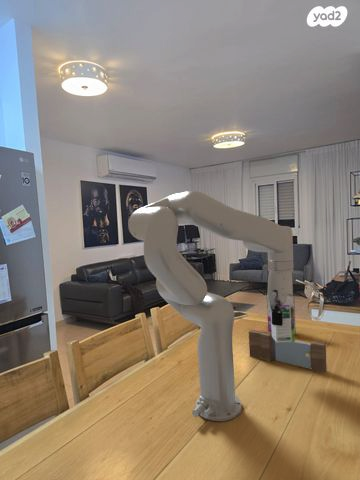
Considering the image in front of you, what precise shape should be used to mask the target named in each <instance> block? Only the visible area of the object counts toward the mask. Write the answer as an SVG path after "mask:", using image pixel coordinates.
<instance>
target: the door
mask: <svg viewBox="0 0 360 480" xmlns="http://www.w3.org/2000/svg"><path fill="white" fill-rule="evenodd" d="M272 346H273V359H272V360H273V361H277V362H281V363H286V364H290V365H293V366H298V367H303V368H307V369H312V363H311V342H310V343H309V342H304V341H298V340H295V342H279V343H276V341H275V340H274V339H273V337H272Z"/></svg>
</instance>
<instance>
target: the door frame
mask: <svg viewBox="0 0 360 480" xmlns="http://www.w3.org/2000/svg"><path fill="white" fill-rule="evenodd" d="M310 344H311V363H312V368H311V372H315V373H319V374H322V375H326V373H327V369H328V368H327V367H328V366H327V343H326V342H323V341H318V340H312V341H310ZM248 345H249V347H248V348H249V357H252V358H257V359H260V360H262V361H265V362H269V363H270V362H272V360H273V346H272V332H271V331H265V330H264V331H260V330H255V329H250V330H248Z"/></svg>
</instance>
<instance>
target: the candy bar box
mask: <svg viewBox="0 0 360 480" xmlns="http://www.w3.org/2000/svg"><path fill="white" fill-rule="evenodd" d="M293 306H294V336H295V335H296V334H297V333H296V330H297V329H296V308H295V307H296V306H295V296H293ZM266 309H267V310H266V311H267V330H268V331H267V332H270V333H272V329H271V308H270V303H269V302H268V294H267V295H266Z"/></svg>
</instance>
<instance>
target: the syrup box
mask: <svg viewBox="0 0 360 480" xmlns="http://www.w3.org/2000/svg"><path fill="white" fill-rule="evenodd" d="M293 297H294V296H292V295H291V294H289V295H288V296H287V298H286V303H284V304H282V309H281V313H282V317H283V325H282V326H278V325H273V324H272V312H271V329H272V332H271V333H272V337H273V339H274V340H275V341H276V343H279V342H295V341H296V338H295V337H296V336H295V335H294V306H293ZM276 302H280V301H279V300H278V298H277V299H276ZM277 306H278V308H279V305H277Z"/></svg>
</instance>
